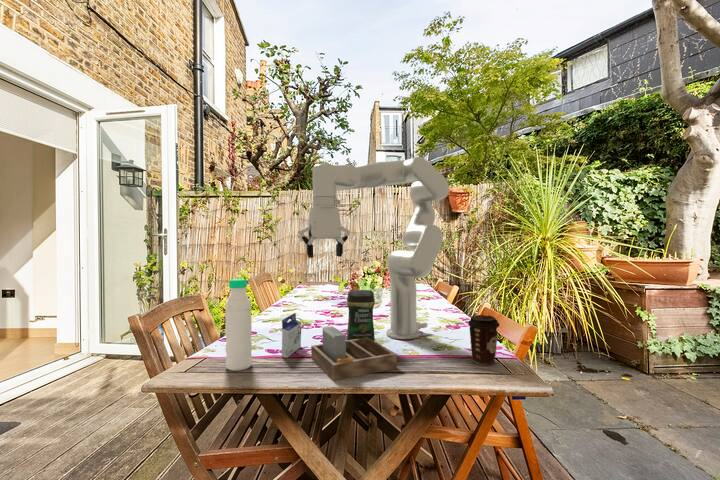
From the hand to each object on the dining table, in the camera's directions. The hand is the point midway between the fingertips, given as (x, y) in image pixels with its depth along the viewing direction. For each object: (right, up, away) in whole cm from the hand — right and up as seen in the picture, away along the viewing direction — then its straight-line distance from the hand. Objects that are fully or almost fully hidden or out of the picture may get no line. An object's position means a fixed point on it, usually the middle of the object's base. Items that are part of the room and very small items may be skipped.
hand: (325, 256), depth 116 cm
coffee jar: (+11, -30, +7) cm, 33 cm away
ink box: (-11, -31, 0) cm, 32 cm away
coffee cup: (+47, -30, -10) cm, 57 cm away
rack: (+9, -31, -11) cm, 34 cm away
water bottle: (-23, -31, -13) cm, 41 cm away
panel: (+4, -30, -13) cm, 33 cm away
